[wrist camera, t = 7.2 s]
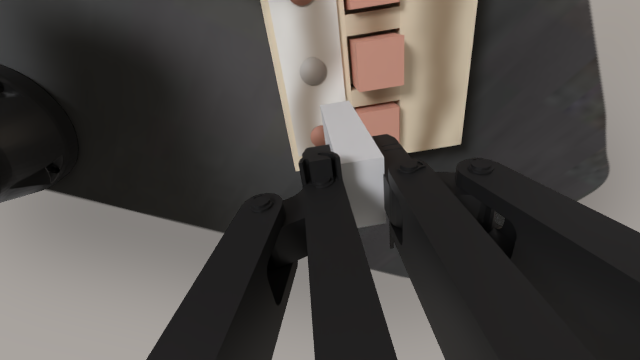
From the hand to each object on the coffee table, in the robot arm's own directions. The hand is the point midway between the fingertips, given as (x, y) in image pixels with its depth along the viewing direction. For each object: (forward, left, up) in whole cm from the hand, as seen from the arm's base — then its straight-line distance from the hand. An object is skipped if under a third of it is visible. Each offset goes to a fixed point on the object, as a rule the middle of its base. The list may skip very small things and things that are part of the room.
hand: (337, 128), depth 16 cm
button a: (+6, -7, -19) cm, 21 cm away
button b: (+6, 0, -18) cm, 19 cm away
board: (+6, 0, -20) cm, 21 cm away
